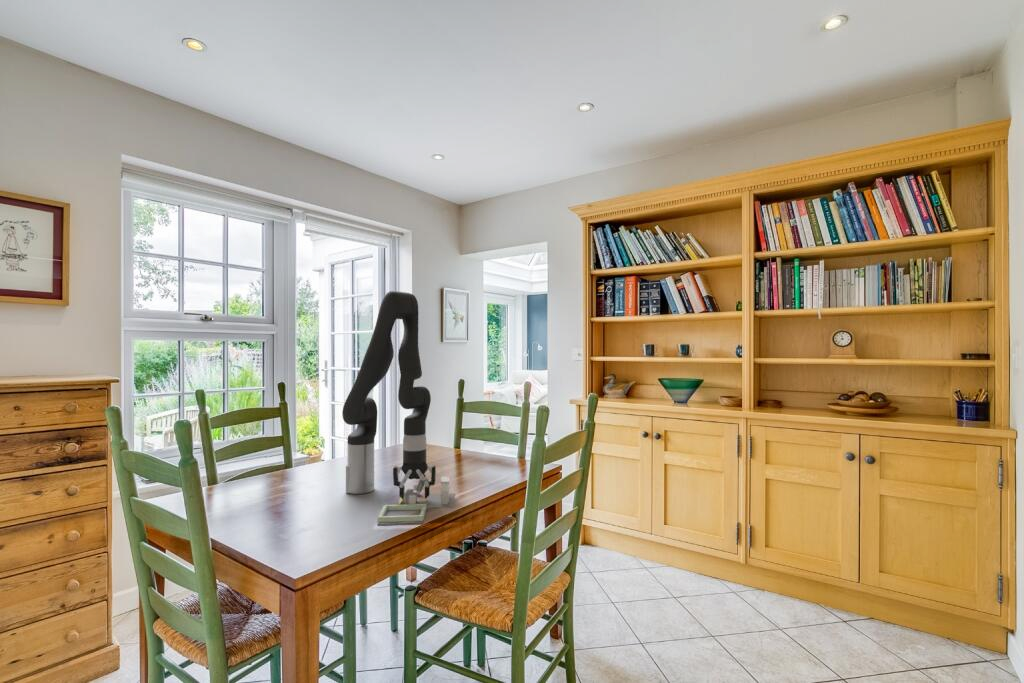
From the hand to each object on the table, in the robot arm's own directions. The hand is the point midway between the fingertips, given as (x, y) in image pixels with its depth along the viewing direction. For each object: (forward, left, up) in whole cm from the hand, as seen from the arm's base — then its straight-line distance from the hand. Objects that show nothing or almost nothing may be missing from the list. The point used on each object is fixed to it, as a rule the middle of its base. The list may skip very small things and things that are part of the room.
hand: (414, 497), depth 160 cm
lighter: (0, 0, -2) cm, 2 cm away
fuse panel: (+4, 0, -2) cm, 5 cm away
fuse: (+10, 0, -1) cm, 10 cm away
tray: (-2, -13, -2) cm, 13 cm away
